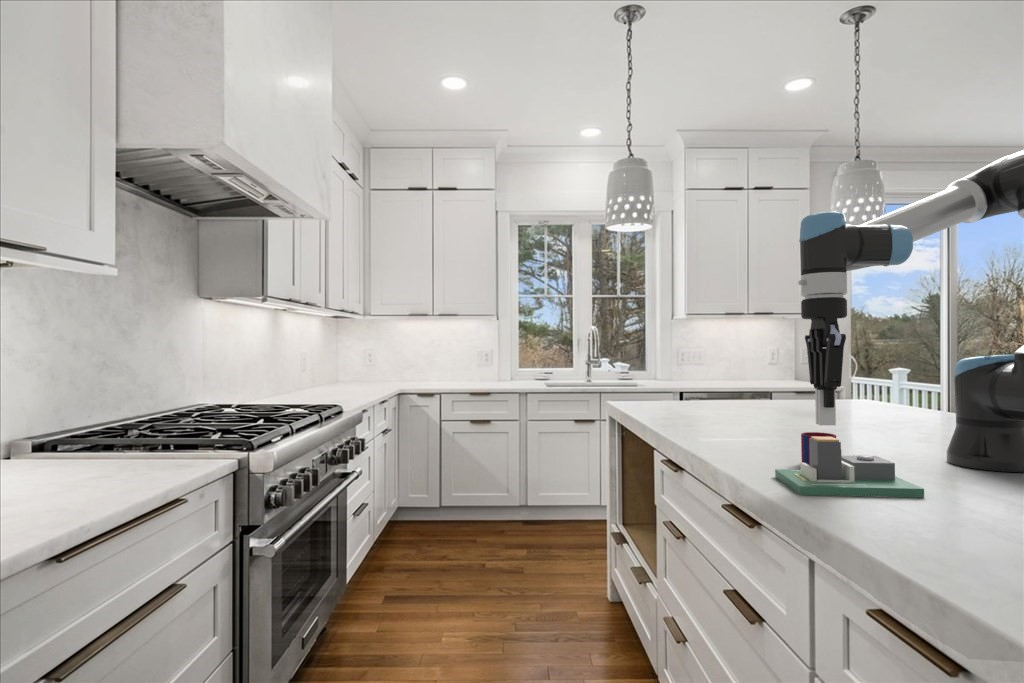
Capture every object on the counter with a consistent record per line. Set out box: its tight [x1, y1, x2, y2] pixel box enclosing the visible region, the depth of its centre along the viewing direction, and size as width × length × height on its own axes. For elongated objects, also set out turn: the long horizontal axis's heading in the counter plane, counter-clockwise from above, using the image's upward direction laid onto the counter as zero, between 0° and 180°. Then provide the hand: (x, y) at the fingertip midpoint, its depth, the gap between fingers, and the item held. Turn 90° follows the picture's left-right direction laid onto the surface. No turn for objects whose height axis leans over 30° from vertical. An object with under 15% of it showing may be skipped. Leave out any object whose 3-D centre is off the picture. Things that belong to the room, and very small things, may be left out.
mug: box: [800, 431, 837, 465], centre depth 124 cm, size 7×10×7 cm
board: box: [774, 461, 925, 498], centre depth 108 cm, size 20×14×4 cm
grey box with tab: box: [841, 454, 896, 480], centre depth 110 cm, size 7×7×4 cm
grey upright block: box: [809, 436, 842, 480], centre depth 108 cm, size 5×4×7 cm
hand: (825, 424), depth 108 cm, fingers closed
